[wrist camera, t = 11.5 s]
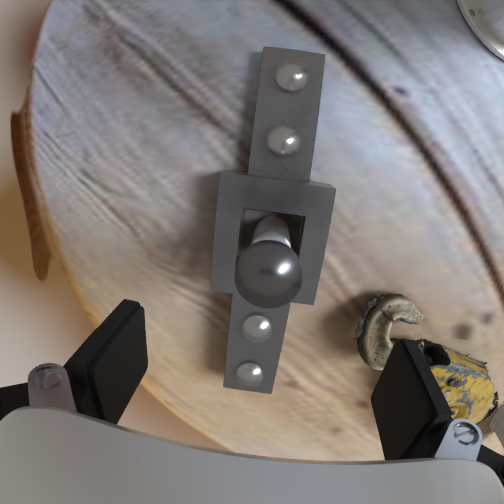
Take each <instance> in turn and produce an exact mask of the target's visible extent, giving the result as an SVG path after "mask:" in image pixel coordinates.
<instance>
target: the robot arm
mask: <svg viewBox="0 0 504 504" xmlns="http://www.w3.org/2000/svg"><path fill="white" fill-rule="evenodd" d="M457 3H458V5H459V8H460V10H461V12H462V14H463V16H464V18H465V20H466V21H467V23H468V25H469V26H470V27H471V29H472V30H473V32H474V33H475V34H476V36H477V37H478V38H479V39H480V40H481V42H482V43H483V44H484V45H485V46H486V47H487V48H488V49H489V50H490V51H492V52H493V53H494V54H495V55H496V56H498V57H499V58H501V59H503V60H504V0H457ZM147 367H148V357H147V345H146V331H145V315H144V308H143V307H141V306H140V303H139V302H136V301H132V300H127V299H124V300H123V301H122V302H121V303H120V304H119V305H118V306H117V307H116V308H115V309H114V310H113V312H112V313H111V314H110V315H109V316H108V317H107V318H106V319H105V320H104V321H103V323H102V324H101V325H100V326H99V327H98V328H97V329H95V331H94V332H93V333H92V334H91V335H90V336H89V337H88V338H87V340H86V341H85V342H84V343H83V344H82V345H81V346H80V347H79V349H78V350H77V351H76V352H75V353H74V354H73V356H72V357H71V358H70V359H69V360H68V361H67V362H66V364H65V365H64V366H63V367H62V366H60V365H58V364H54V363H45V364H41V365H39V366H37V367H35V368H34V369H33V370H32V371H31V372H30V373H29V375H28V383H23V384H17V385H12V386H7V387H2V388H0V504H504V456H502V455H500V454H498V453H496V452H494V451H493V450H491V449H489V448H487V447H485V446H484V445H482V444H481V443H482V438H483V436H482V432H481V430H480V428H479V427H478V426H477V425H476V424H475V423H473V422H472V421H470V420H467V419H456V420H454V421H453V418H452V414H453V413H452V411H451V409H450V407H449V405H448V402H447V400H446V398H445V396H444V394H443V392H442V390H441V388H440V386H439V384H438V382H437V380H436V378H435V376H434V374H433V373H432V371H431V369H430V367H429V365H428V363H427V361H426V359H425V357H424V356H423V354H422V352H421V350H420V348H419V346H418V345H417V343H416V341H415V340H409V339H400V340H399V341H398V343H397V342H396V343H395V344H394V345H393V347H392V350H391V352H390V355H389V357H388V359H387V362H386V364H385V367H384V369H383V371H382V373H381V376H380V378H379V380H378V382H377V384H376V387H375V389H374V391H373V393H372V396H371V403H372V407H373V411H374V415H375V419H376V423H377V427H378V431H379V436H380V440H381V444H382V449H383V453H384V457H385V460H383V461H316V460H298V459H285V458H275V457H265V456H257V455H249V454H242V453H235V452H229V451H223V450H217V449H211V448H206V447H201V446H196V445H192V444H187V443H183V442H178V441H174V440H170V439H166V438H162V437H158V436H154V435H151V434H147V433H143V432H140V431H136V430H132V429H129V428H126V427H123V426H119V425H117V423H118V421H119V419H120V417H121V416H122V414H123V412H124V410H125V408H126V407H127V405H128V403H129V401H130V399H131V397H132V395H133V394H134V392H135V390H136V388H137V387H138V385H139V383H140V381H141V379H142V378H143V376H144V374H145V372H146V370H147Z"/></svg>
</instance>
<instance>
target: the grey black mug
mask: <svg viewBox="0 0 504 504" xmlns="http://www.w3.org/2000/svg"><path fill="white" fill-rule="evenodd" d="M489 427H490V429H491V430H492V431H494V432H495V433H496V435H497V437H498V438H499V440H500V442H501V444H502V446H503V448H504V405H503V406H502V407H501V408H500V409H499V410H498V411H497V412H496V413H495V415H494V416H493V418H492V419H491V422H490V425H489Z"/></svg>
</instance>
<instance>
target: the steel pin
mask: <svg viewBox="0 0 504 504" xmlns="http://www.w3.org/2000/svg"><path fill="white" fill-rule="evenodd" d="M234 280H235V285H236V288H237V290H238V292H239V294H240V295H241V296H242V297H243V298H244V299H245V300H246V301H247V302H249V303H250V304H252V305H254V306H257V307H260V308H267V309H270V308H278V307H281V306H283V305H285V304H287V303H289V302H290V301H292V300H293V299H294V298H295V296H296V295H297V294H298V292H299V290H300V288H301V285H302V269H301V264H300V260H299V258H298V256H297V254H296V253H295V252H294V251H293V249H291V244H290V236H289V229H288V226H287V224H286V223H285V221H283V220H282V219H281V218H279V217H275V216H269V217H265V218H263V219H262V220H261V221H260V222H259V223H258V224H257V226H256V229H255V232H254V236H253V240H252V243H251V245H250V246H248V247H247V248H246V249H245V250H244V251H243V252H242V254H241V255H240V257H239V260H238V263H237V265H236V268H235V273H234Z"/></svg>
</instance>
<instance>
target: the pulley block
mask: <svg viewBox="0 0 504 504" xmlns="http://www.w3.org/2000/svg"><path fill="white" fill-rule="evenodd" d="M367 303H368V307H367V309H366V311H365V313H364V315H363V317H362V319H361V321H360V322H359V323H358V328H357V329H356V330H355V334H356V336H355V338H357V345H358V351H359V353H360V356H361V357H362V359H363V360H364V362H365V363H366V364H367V365H369V366H370V367H372V368H373V369H375V370H383V369H384V367H385V364H386V362H387V359H388V357H389V355H390V352H391V350H392V347H393V345H394V344H395V343H396V342H397V343H398V341H399V340H400V339H396V338H392V339H389V331H390V328H391V325H392V323H393V322H394V321H395V320H397V319H400V320H401V321H404V322H406V323H409V324H419V323H420V321H421V320H423V313H422V312H421V311H420V310H419V309H418V308H417V307H416V306H415V305H414V304H413V303H412V302H411V301H410V300H409V299H408V298H407V297H405V296H403V295H401V294H387V295H380V294H379V293H378V292H377V297H376V298H375V299H373V300H367ZM355 338H354V339H355ZM416 343H417V345H418V346H419V348H420V350H421V352H422V354H423V356H424V357H425V359H426V361H427V363H428V365H429V367H430V369H431V371H432V373H433V374H434V376H435V378H436V380H437V382H438V384H439V386H440V388H441V390H442V392H443V394H444V396H445V398H446V400H447V402H448V405H449V407H450V409H451V411H452V413H453V414H452V418H453V421H454V420H456V419H467V420H470V421H472V422H473V423H475V424H476V425H479V424H480V423H482V422H483V421H484V420H485V419H486V418H488V417H489V416H490V415H491V414H492V413H493V412H494V411H495V409H496V410H497V411H498V410H499V407H498V401H496V400H499V399H498V393H497V391H496V393H494V390H495V389H494V386H493V383H492V381H491V379H490V376H489V374H488V370H487V368H486V366H485V364H486V363H487V362H485V363H483V362H481V361H478V360H475V359H472V358H470V357H468V355H463V354H460V353H458V352H456V351H453V350H451V349H449V348H447V347H444V346H442V345H440V344H435V343H433V342H431V341H427V340H426V339H424V340H423V341H422V340H416ZM492 403H493V405H494V406H495V407H494V408H492V409H491V410H490V406H491V404H492Z"/></svg>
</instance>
